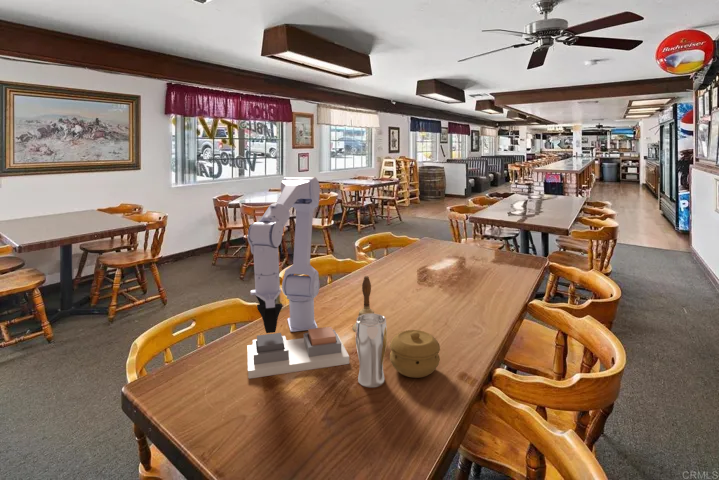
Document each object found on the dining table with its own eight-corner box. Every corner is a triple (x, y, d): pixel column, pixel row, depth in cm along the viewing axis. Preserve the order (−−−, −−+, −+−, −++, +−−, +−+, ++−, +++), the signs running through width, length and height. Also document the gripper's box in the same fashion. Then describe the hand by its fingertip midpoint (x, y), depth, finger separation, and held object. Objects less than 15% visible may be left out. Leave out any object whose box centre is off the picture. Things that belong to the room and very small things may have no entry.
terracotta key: (308, 339, 106) (308, 329, 105) (331, 337, 108) (330, 326, 107) (312, 350, 100) (312, 339, 100) (336, 347, 102) (335, 336, 101)
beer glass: (384, 371, 96) (385, 312, 93) (387, 388, 90) (388, 325, 86) (355, 372, 96) (355, 313, 93) (356, 389, 89) (355, 326, 86)
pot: (391, 384, 91) (391, 343, 89) (387, 358, 103) (388, 321, 100) (443, 384, 91) (445, 343, 89) (434, 358, 102) (435, 321, 100)
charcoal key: (257, 346, 103) (256, 335, 102) (281, 343, 104) (281, 332, 104) (258, 358, 97) (257, 346, 96) (283, 354, 99) (283, 343, 98)
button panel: (247, 352, 106) (246, 336, 105) (337, 340, 112) (337, 325, 111) (248, 378, 94) (247, 360, 93) (349, 363, 100) (349, 346, 99)
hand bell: (385, 331, 118) (385, 278, 114) (358, 336, 115) (358, 282, 111) (373, 320, 125) (374, 271, 122) (348, 324, 122) (347, 274, 119)
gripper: (248, 265, 102) (251, 316, 105) (250, 282, 89) (253, 340, 91) (277, 263, 104) (279, 313, 107) (283, 279, 91) (285, 336, 93)
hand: (269, 325), depth 99 cm, fingers open, 7 cm apart
